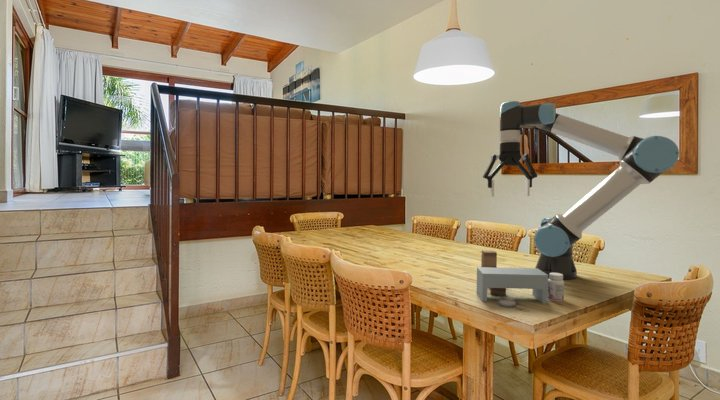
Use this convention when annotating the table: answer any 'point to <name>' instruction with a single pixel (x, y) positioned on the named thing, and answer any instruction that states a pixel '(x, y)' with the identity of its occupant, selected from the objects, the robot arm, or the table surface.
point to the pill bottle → (556, 287)
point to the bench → (512, 280)
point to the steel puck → (507, 302)
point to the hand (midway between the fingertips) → (509, 196)
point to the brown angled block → (491, 261)
